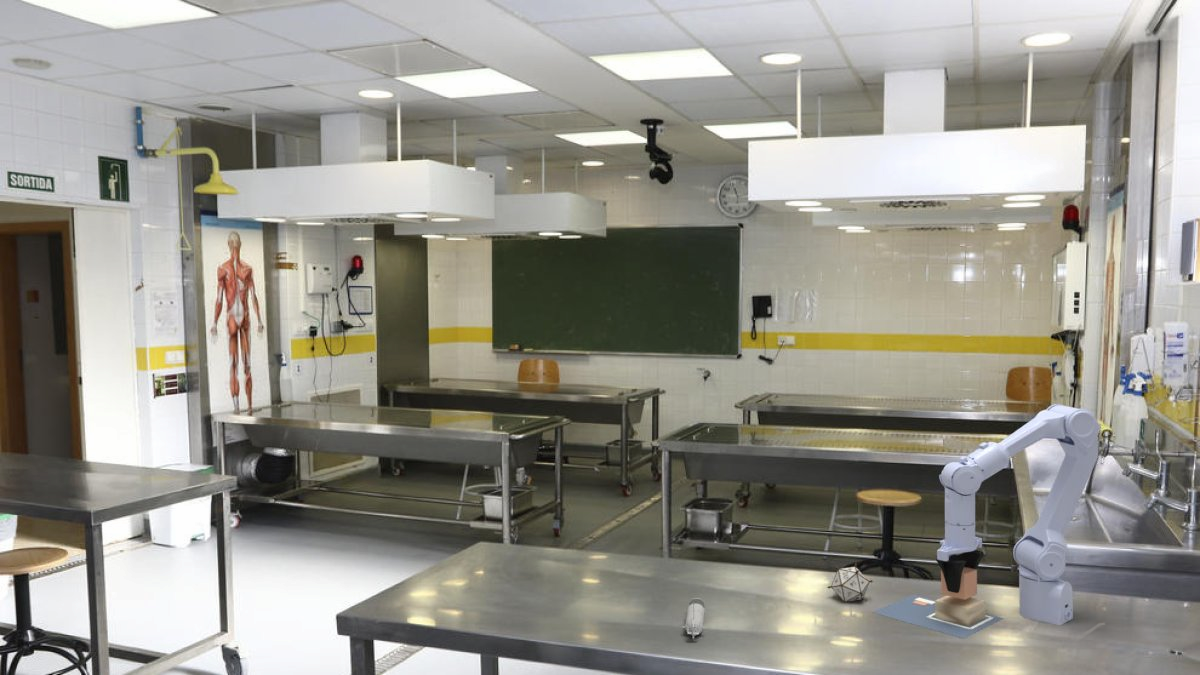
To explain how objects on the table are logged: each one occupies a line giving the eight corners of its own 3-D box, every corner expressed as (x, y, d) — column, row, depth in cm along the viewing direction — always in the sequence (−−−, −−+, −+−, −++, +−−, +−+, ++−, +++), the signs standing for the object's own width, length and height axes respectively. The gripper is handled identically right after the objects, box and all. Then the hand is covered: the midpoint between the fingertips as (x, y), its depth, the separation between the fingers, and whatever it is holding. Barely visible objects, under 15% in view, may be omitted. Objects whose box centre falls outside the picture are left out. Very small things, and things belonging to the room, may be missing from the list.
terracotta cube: (977, 594, 184) (976, 569, 184) (964, 599, 181) (964, 574, 180) (953, 588, 188) (953, 564, 187) (941, 594, 184) (941, 569, 184)
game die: (858, 621, 196) (875, 593, 190) (820, 605, 197) (836, 577, 191) (863, 590, 203) (879, 562, 197) (826, 575, 204) (841, 547, 198)
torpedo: (685, 611, 194) (685, 581, 194) (707, 612, 193) (707, 581, 193) (681, 643, 176) (680, 610, 176) (705, 644, 175) (705, 611, 175)
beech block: (985, 617, 184) (985, 600, 184) (968, 626, 179) (968, 609, 179) (952, 609, 189) (952, 592, 189) (935, 617, 185) (935, 600, 184)
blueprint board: (1003, 621, 184) (1003, 617, 184) (963, 642, 173) (963, 637, 173) (913, 598, 199) (913, 594, 199) (872, 615, 188) (872, 611, 188)
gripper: (959, 513, 191) (959, 576, 192) (922, 525, 182) (923, 591, 182) (991, 518, 186) (992, 584, 186) (956, 531, 176) (956, 600, 177)
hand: (960, 588), depth 184 cm, fingers closed on terracotta cube, 5 cm apart
